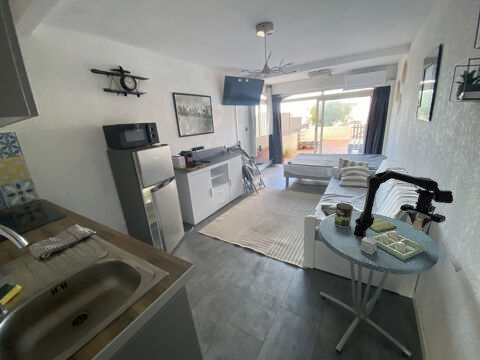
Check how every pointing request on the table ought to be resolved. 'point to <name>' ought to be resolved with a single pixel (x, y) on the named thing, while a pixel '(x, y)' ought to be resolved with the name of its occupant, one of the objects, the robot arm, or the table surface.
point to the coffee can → (343, 215)
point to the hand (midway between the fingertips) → (418, 226)
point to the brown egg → (418, 224)
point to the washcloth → (381, 225)
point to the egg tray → (411, 246)
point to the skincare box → (368, 245)
